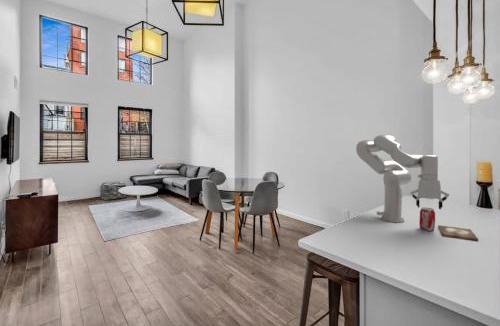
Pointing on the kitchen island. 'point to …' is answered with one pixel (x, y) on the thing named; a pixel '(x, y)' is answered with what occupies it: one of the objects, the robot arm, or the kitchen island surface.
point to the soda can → (427, 219)
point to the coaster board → (457, 233)
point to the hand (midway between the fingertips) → (428, 207)
